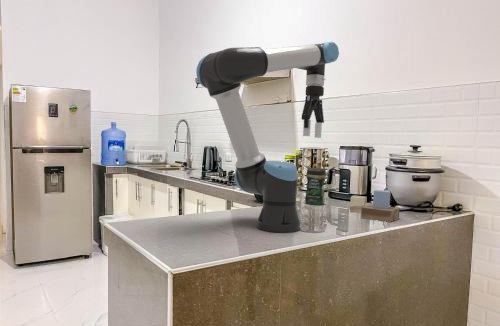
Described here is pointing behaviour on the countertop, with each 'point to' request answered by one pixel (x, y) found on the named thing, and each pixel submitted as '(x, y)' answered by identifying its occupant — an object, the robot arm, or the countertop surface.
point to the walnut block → (380, 213)
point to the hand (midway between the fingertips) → (312, 137)
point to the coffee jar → (315, 186)
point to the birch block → (357, 203)
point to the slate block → (381, 199)
